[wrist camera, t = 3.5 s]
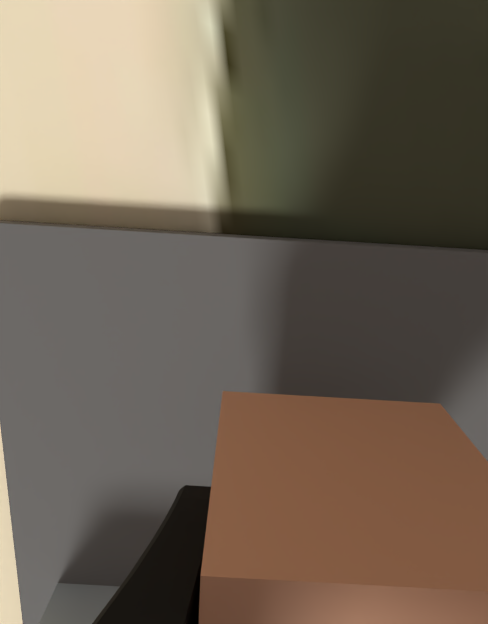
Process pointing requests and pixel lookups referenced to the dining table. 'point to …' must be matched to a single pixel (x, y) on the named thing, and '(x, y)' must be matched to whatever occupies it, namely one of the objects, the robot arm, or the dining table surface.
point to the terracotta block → (344, 514)
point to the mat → (199, 366)
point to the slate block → (77, 603)
